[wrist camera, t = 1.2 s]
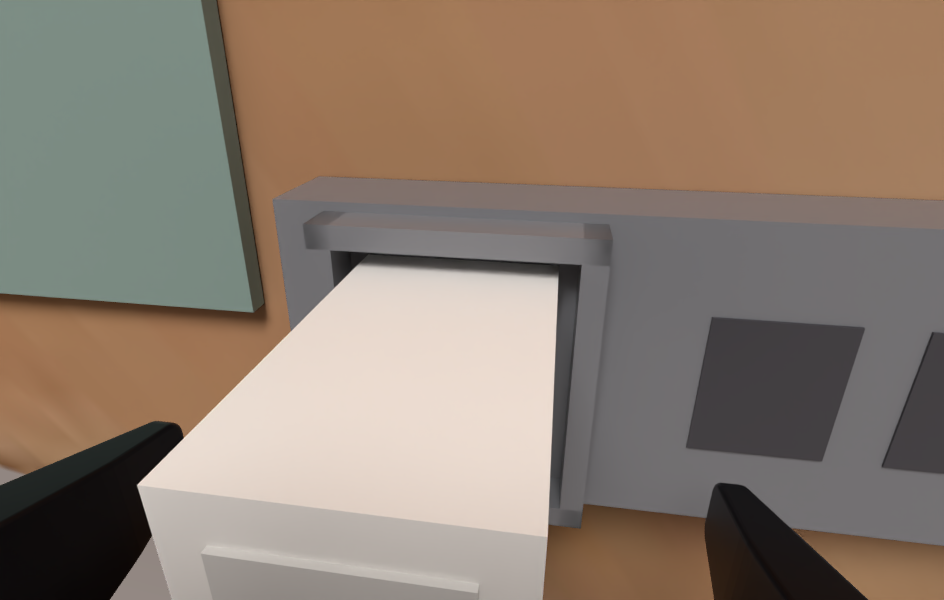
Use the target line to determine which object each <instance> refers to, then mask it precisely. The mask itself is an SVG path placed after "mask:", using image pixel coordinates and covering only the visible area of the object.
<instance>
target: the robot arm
mask: <svg viewBox="0 0 944 600" xmlns="http://www.w3.org/2000/svg"><path fill="white" fill-rule="evenodd" d="M183 439H184V437H183V433H182V430H181V428H180V426H179V425H178V424H176V423H171V422H162V421H154V422H151V423H148V424H146V425H143V426H141V427H139V428H136V429H134V430H131V431H129V432H127V433H124V434H122V435H119V436H117V437H115V438H112V439H110V440H108V441H105V442H103V443H100V444H98V445H96V446H93V447H91V448H88V449H86V450H84V451H81V452H79V453H76V454H74V455H72V456H69V457H67V458H64V459H62V460H60V461H57V462H55V463H53V464H50V465H48V466H45V467H43V468H41V469H38V470H36V471H33V472H31V473H29V474H26V475H24V476H22V477H19V478H17V479H14V480H12V481H10V482H7V483H5V484H3V485H0V600H110V599H111V597H112V596H113V594H114V593H115V591H116V590H117V588H118V587H119V586H120V584H121V583H122V581H123V580H124V578H125V577H126V576H127V574H128V573H129V571H130V570H131V568H132V567H133V565H134V564H135V562H136V561H137V559H138V558H139V556H140V555H141V553H142V552H143V550H144V548H145V546H146V545H147V543H148V541H149V540H150V538H151V536H152V533H151V530H150V526H149V523H148V520H147V517H146V513H145V510H144V507H143V503H142V500H141V497H140V493H139V490H138V487H137V485H138V484H139V483H140V482H141V481H142V480H143V479H144V478H145V477H146V476H147V475H148V474H149V473H150V472H151V471H152V470H153V469H154V468H155V467H156V466H157V465H158V464H159V463H160V462H161V461H162V460H163V459H164V458H165V457H166V456H167V455H168V454H169V453H170V452H171V451H172V450H173V449H174V448H175V447H176V446H177V445H178V444H179V443H180V442H181V441H182V440H183ZM705 542H706V549H707V555H708V562H709V568H710V575H711V582H712V588H713V595H714V600H868V599H867V598H866V597H865V596H864V595H863V594H861V593H860V592H859V591H858V590H857V589H856V588H855V587H854V586H853V585H852V584H851V583H850V582H848V581H847V580H846V579H845V578H844V577H843V576H842V575H841V574H840V573H839V572H838V571H837V570H836V569H834V568H833V567H832V566H831V565H830V564H829V563H828V562H827V561H826V560H825V559H824V558H823V557H822V556H820V555H819V554H818V553H817V552H816V551H815V550H814V549H813V548H812V547H811V546H810V545H809V544H807V543H806V542H805V541H804V540H803V539H802V538H801V537H800V536H799V535H798V534H797V533H796V532H795V531H793V530H792V529H791V528H790V527H789V526H788V525H787V524H786V523H785V522H784V521H783V520H782V519H780V518H779V517H778V516H777V515H776V514H775V513H774V512H773V511H772V510H771V509H770V508H769V507H768V506H766V505H765V504H764V503H763V502H762V501H761V500H760V499H759V498H758V497H757V496H756V495H755V494H753V493H752V492H751V491H750V490H749V489H748V488H747V487H745V486H743V485H739V484H730V483H717V484H715V486H714V488H713V491H712V495H711V499H710V503H709V508H708V512H707V516H706V521H705Z"/></svg>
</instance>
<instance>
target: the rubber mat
mask: <svg viewBox="0 0 944 600" xmlns="http://www.w3.org/2000/svg"><path fill="white" fill-rule="evenodd" d="M0 293H4V294H17V295H30V296H43V297H56V298H70V299H83V300H96V301H109V302H122V303H135V304H149V305H162V306H175V307H188V308H201V309H214V310H228V311H241V312H255V311H256V310H257V309H258V308H260V307H261V306H262V305H263V304H264V298H263V291H262V285H261V279H260V272H259V266H258V260H257V254H256V247H255V241H254V235H253V228H252V222H251V216H250V209H249V203H248V197H247V190H246V184H245V178H244V171H243V165H242V159H241V153H240V146H239V140H238V134H237V127H236V121H235V115H234V108H233V102H232V96H231V89H230V83H229V77H228V71H227V64H226V58H225V52H224V45H223V39H222V33H221V26H220V20H219V14H218V7H217V1H216V0H0Z"/></svg>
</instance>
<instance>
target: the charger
mask: <svg viewBox="0 0 944 600" xmlns="http://www.w3.org/2000/svg"><path fill="white" fill-rule="evenodd" d="M558 276H559V266H558V265H541V264H524V263H507V262H490V261H473V260H455V259H438V258H421V257H404V256H387V255H370V254H368V255H367V256H366V257H365V258H364V259H363V260H362V261H361V262H360V263H359V264H358V265H357V266H356V267H355V268H354V269H353V270H352V271H351V272H350V273H349V274H348V275H347V276H346V277H345V278H344V279H343V280H342V281H341V282H340V283H339V284H338V285H337V286H336V287H335V288H334V289H333V290H332V291H331V292H330V293H329V294H328V295H327V296H326V297H325V298H324V299H323V300H322V301H321V302H320V303H319V304H318V305H317V306H316V307H315V308H314V309H313V310H312V311H311V312H310V313H309V314H308V315H307V316H306V317H305V318H304V319H303V320H302V321H301V322H300V323H299V324H298V325H297V326H296V327H295V328H294V329H293V330H292V331H291V332H290V333H289V334H288V335H287V336H286V337H285V338H284V339H283V340H282V341H281V342H280V343H279V344H278V345H277V346H276V347H275V348H274V349H273V350H272V351H271V352H270V353H269V354H268V355H267V356H266V357H265V358H264V359H263V360H262V361H261V362H260V363H259V364H258V365H257V366H256V367H255V368H254V369H253V370H252V371H251V372H250V373H249V374H248V375H247V376H246V377H245V378H244V379H243V380H242V381H241V382H240V383H239V384H238V385H237V386H236V387H235V388H234V389H233V390H232V391H231V392H230V393H229V394H228V395H227V396H226V397H225V398H224V399H223V400H222V401H221V402H220V403H219V404H218V405H217V406H216V407H215V408H214V409H213V410H212V411H211V412H210V413H209V414H208V415H207V416H206V417H205V418H204V419H203V420H202V421H201V422H200V423H199V424H198V425H197V426H196V427H195V428H194V429H193V430H192V431H191V432H190V433H189V434H188V435H187V436H186V437H185V438H184V439H183V440H182V441H181V442H180V443H179V444H178V445H177V446H176V447H175V448H174V449H173V450H172V451H171V452H170V453H169V454H168V455H167V456H166V457H165V458H164V459H163V460H162V461H161V462H160V463H159V464H158V465H157V466H156V467H155V468H154V469H153V470H152V471H151V472H150V473H149V474H148V475H147V476H146V477H145V478H144V479H143V480H142V481H141V482H140V483H139V484H138V485H137V487H138V490H139V493H140V497H141V500H142V503H143V507H144V510H145V513H146V517H147V520H148V523H149V526H150V530H151V533H152V536H153V540H154V543H155V546H156V549H157V553H158V556H159V559H160V563H161V566H162V569H163V573H164V576H165V579H166V582H167V586H168V589H169V592H170V596H171V599H172V600H543V588H544V575H545V563H546V551H547V538H548V516H549V492H550V468H551V444H552V420H553V396H554V372H555V348H556V324H557V300H558Z"/></svg>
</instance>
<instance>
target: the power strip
mask: <svg viewBox="0 0 944 600" xmlns="http://www.w3.org/2000/svg"><path fill="white" fill-rule="evenodd" d="M273 206H274V213H275V221H276V228H277V235H278V242H279V249H280V256H281V263H282V270H283V278H284V285H285V292H286V299H287V306H288V313H289V320H290V327H291V331H292V330H293V329H294V328H295V327H296V326H297V325H298V324H299V323H300V322H301V321H302V320H303V319H304V318H305V317H306V316H307V315H308V314H309V313H310V312H311V311H312V310H313V309H314V308H315V307H316V306H317V305H318V304H319V303H320V302H321V301H322V300H323V299H324V298H325V297H326V296H327V295H328V294H329V293H330V292H331V291H332V290H333V289H334V288H335V287H336V286H337V285H338V284H339V283H340V282H341V281H342V280H343V279H344V278H345V277H346V276H347V275H348V274H349V273H350V272H351V271H352V270H353V269H354V268H355V267H356V266H357V265H358V264H359V263H360V262H361V261H362V260H363V259H364V258H365V257H366V256H367V255H368V254H370V255H387V256H404V257H421V258H438V259H455V260H473V261H490V262H507V263H524V264H541V265H558V266H559V276H558V300H557V324H556V348H555V372H554V396H553V420H552V444H551V468H550V492H549V516H548V525H556V526H564V527H572V528H580V529H581V521H582V512H583V504H591V505H599V506H608V507H616V508H625V509H634V510H642V511H651V512H659V513H668V514H676V515H685V516H693V517H702V518H706V516H707V512H708V508H709V503H710V499H711V495H712V491H713V488H714V486H715V484H717V483H730V484H739V485H743V486H745V487H747V488H748V489H749V490H750V491H751V492H752V493H753V494H755V495H756V496H757V497H758V498H759V499H760V500H761V501H762V502H763V503H764V504H765V505H766V506H768V507H769V508H770V509H771V510H772V511H773V512H774V513H775V514H776V515H777V516H778V517H779V518H780V519H782V520H783V521H784V522H785V523H786V524H787V525H788V526H789V527H790V528H796V529H804V530H813V531H821V532H830V533H838V534H847V535H856V536H864V537H873V538H881V539H890V540H898V541H907V542H915V543H924V544H932V545H941V546H944V201H941V200H915V199H889V198H863V197H838V196H812V195H786V194H760V193H734V192H708V191H682V190H656V189H631V188H605V187H579V186H553V185H527V184H501V183H475V182H449V181H424V180H398V179H372V178H346V177H320V176H319V177H317V178H315V179H313V180H311V181H309V182H306V183H304V184H302V185H300V186H298V187H296V188H294V189H292V190H290V191H288V192H286V193H284V194H282V195H280V196H278V197H276V198H274V199H273Z"/></svg>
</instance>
